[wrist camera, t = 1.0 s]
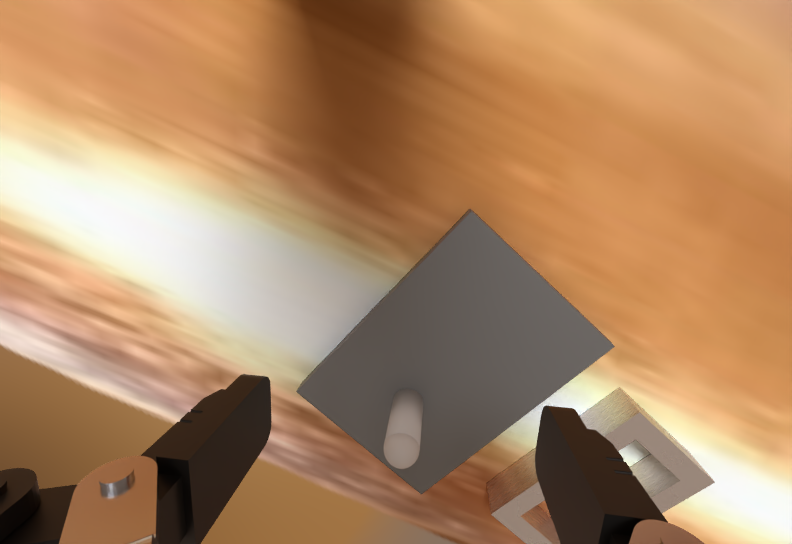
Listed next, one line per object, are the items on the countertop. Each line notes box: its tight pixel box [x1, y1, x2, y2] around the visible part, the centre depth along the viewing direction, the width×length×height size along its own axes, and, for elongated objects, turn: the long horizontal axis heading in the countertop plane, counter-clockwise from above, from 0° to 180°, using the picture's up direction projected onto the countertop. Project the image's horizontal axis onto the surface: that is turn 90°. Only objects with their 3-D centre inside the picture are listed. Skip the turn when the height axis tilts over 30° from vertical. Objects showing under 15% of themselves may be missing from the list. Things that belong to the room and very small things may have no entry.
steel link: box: [487, 387, 714, 544], centre depth 29 cm, size 14×8×3 cm, turn 138°
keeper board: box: [296, 209, 615, 494], centre depth 26 cm, size 20×14×8 cm
